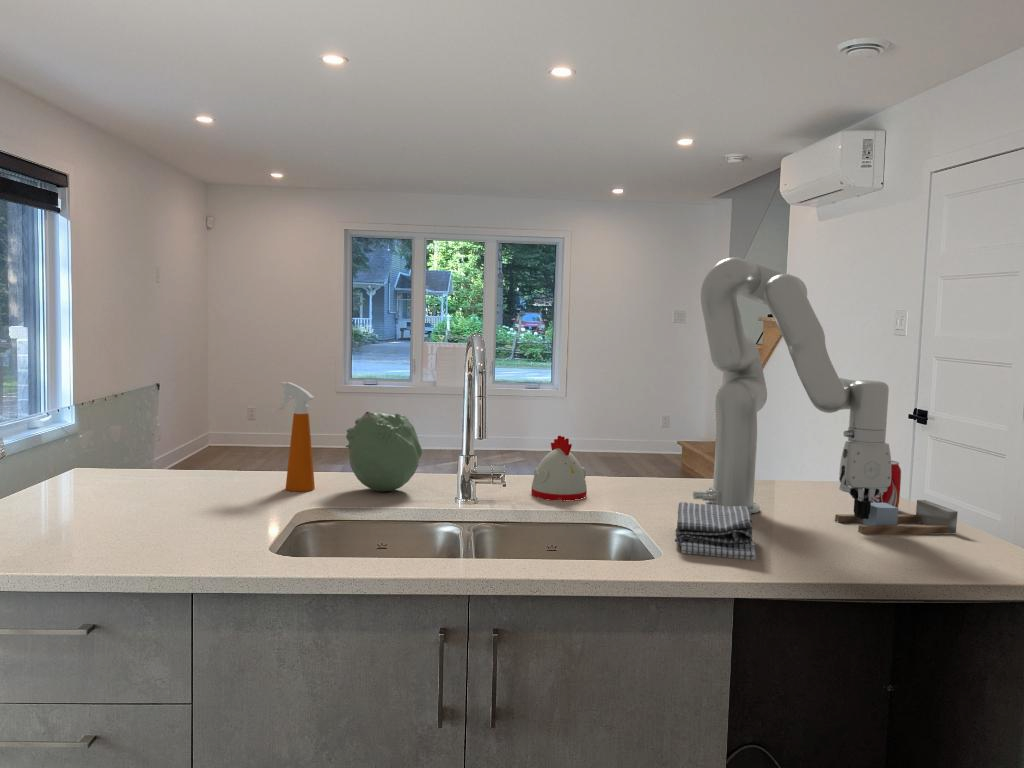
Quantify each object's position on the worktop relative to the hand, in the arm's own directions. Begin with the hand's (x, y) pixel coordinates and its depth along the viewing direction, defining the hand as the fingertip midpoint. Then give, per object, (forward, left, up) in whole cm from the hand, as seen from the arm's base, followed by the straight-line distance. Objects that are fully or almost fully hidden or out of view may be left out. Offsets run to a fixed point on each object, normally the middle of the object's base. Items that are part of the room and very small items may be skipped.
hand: (861, 517), depth 177 cm
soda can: (+16, +17, -3) cm, 24 cm away
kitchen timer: (-63, +31, -3) cm, 70 cm away
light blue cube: (+5, 0, -2) cm, 5 cm away
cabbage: (-107, +34, -3) cm, 112 cm away
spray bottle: (-129, +36, -3) cm, 134 cm away
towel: (-40, -13, -3) cm, 42 cm away
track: (+8, 0, -2) cm, 8 cm away
